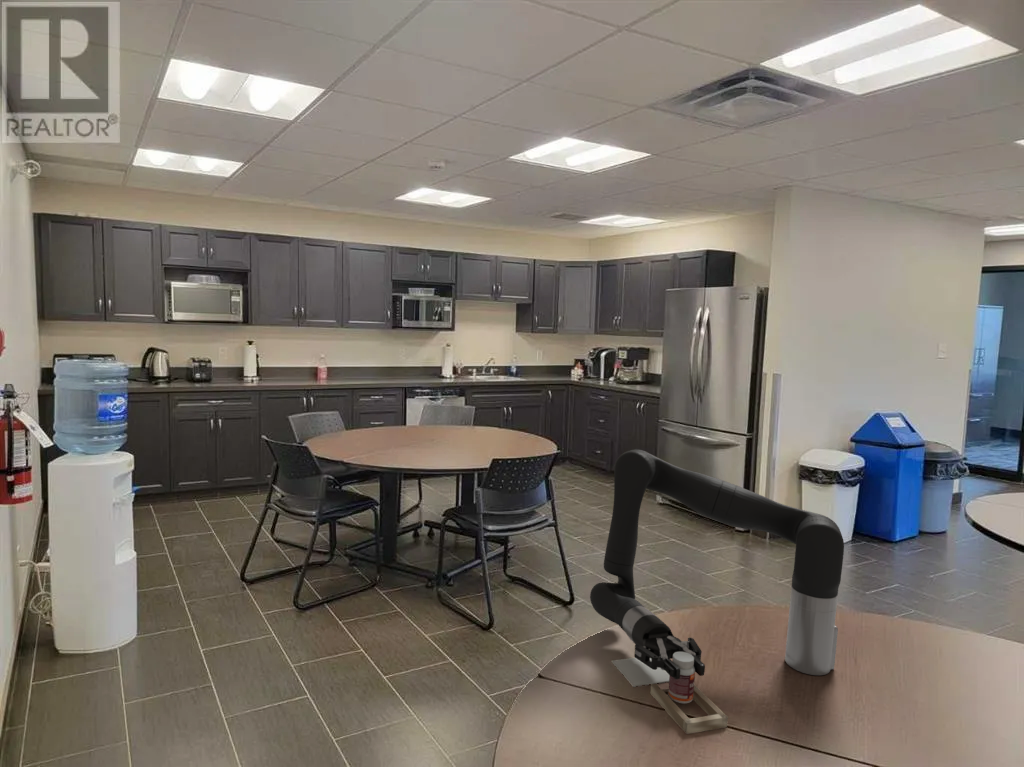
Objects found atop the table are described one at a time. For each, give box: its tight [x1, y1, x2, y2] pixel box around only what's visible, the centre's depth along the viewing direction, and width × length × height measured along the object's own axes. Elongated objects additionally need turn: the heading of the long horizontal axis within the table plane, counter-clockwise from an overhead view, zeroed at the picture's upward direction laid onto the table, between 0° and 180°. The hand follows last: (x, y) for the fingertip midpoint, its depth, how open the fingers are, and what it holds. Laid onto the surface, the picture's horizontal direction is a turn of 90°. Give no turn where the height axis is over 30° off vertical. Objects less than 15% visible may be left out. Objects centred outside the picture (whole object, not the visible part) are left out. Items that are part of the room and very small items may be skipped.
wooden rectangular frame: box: [649, 684, 729, 735], centre depth 125 cm, size 9×13×2 cm, turn 18°
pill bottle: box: [667, 652, 696, 704], centre depth 127 cm, size 5×5×8 cm
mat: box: [611, 657, 669, 688], centre depth 139 cm, size 13×10×1 cm
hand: (690, 672), depth 124 cm, fingers closed on pill bottle, 4 cm apart
